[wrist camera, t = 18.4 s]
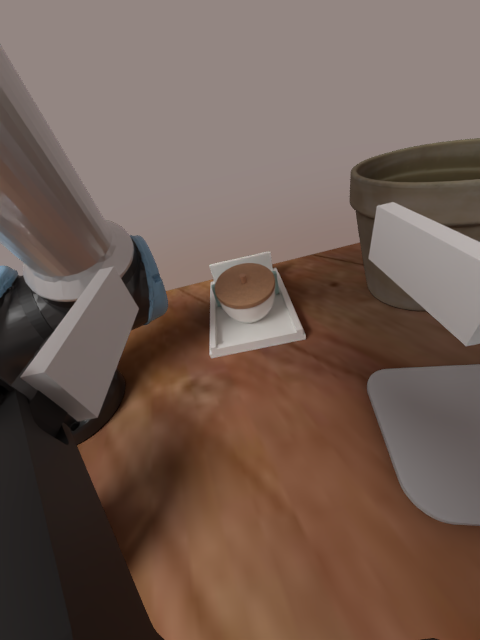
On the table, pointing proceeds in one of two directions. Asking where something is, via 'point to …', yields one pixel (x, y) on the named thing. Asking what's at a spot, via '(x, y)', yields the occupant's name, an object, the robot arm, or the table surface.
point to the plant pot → (417, 198)
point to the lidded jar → (246, 292)
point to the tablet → (433, 436)
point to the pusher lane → (262, 333)
